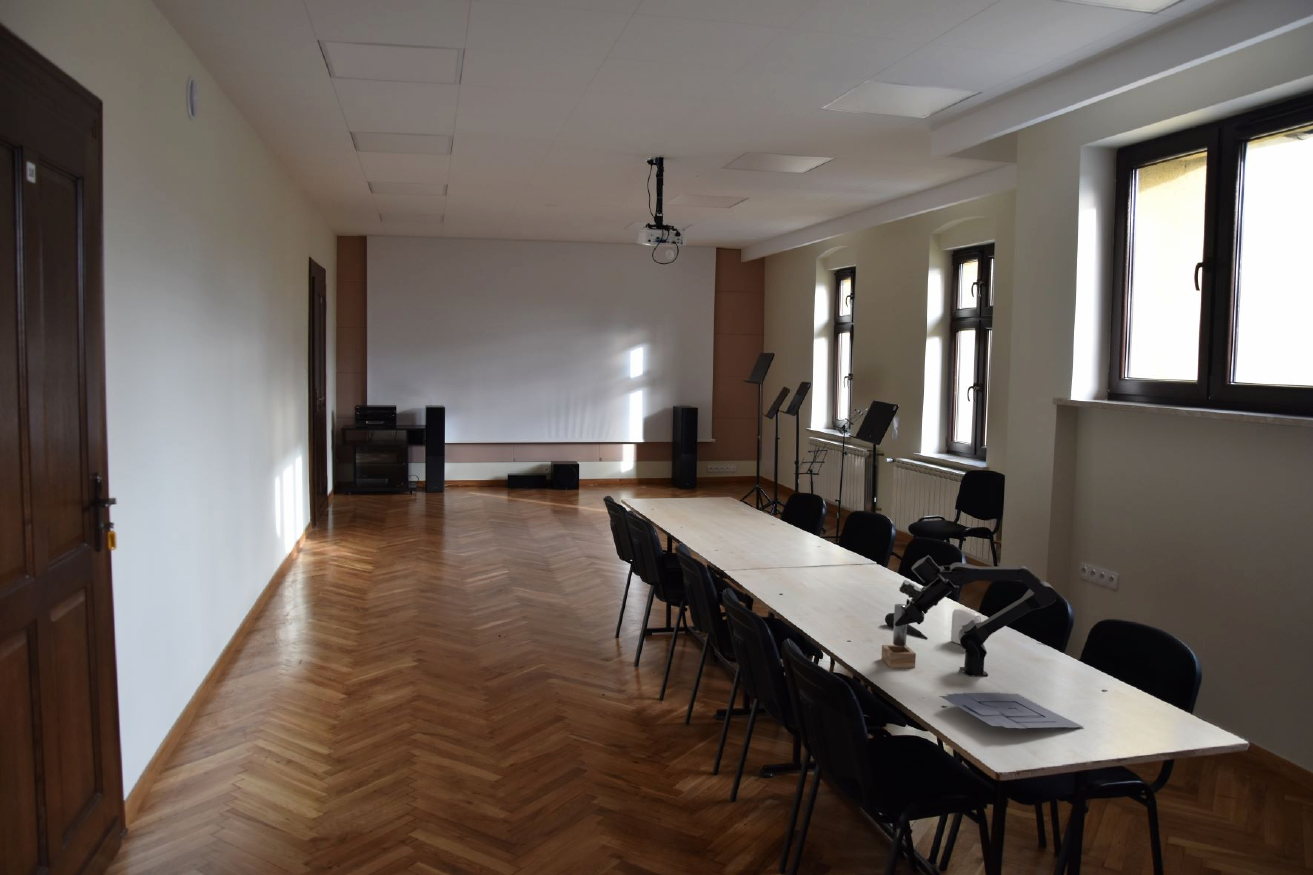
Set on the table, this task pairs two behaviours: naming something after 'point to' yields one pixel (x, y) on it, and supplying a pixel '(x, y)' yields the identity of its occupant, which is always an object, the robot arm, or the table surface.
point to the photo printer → (962, 621)
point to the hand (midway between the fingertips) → (895, 623)
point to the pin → (899, 627)
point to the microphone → (890, 622)
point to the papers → (1008, 710)
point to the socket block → (898, 656)
